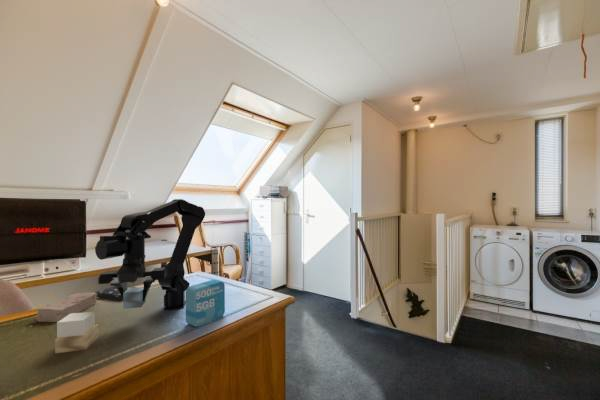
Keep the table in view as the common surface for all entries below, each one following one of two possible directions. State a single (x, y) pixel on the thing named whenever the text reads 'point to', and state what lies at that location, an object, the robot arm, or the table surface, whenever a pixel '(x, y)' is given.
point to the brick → (66, 307)
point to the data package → (205, 302)
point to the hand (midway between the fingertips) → (134, 301)
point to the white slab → (75, 324)
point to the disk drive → (111, 293)
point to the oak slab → (76, 341)
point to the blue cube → (133, 298)
